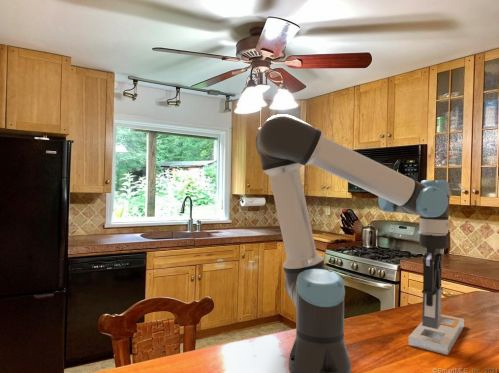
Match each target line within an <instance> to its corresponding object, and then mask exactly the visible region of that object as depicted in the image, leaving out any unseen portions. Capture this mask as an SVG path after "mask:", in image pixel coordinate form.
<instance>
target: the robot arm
mask: <svg viewBox="0 0 499 373" xmlns="http://www.w3.org/2000/svg"><path fill="white" fill-rule="evenodd" d="M255 149H256V152H257V154H258V155H259V159H260V164H261V169H262V172H263V173H265V174H266V175H267V176H269V180H270V185H271V190H272V193H273V195H272V196H273V199H274V204H275V209H276V213H277V218H278V223H279V227H280V231H281V237H282V241H283V247H284V251H285V255H286V259H285V261H284V262H283V264H282V267H283V273H284V277H285V279H284V280H285V281H284V284H285V285H284V286H285V290H286V293H287V295H288V297H289V298H290V299H291V301H292V302H293V305H294V307H295V309H296V311H295V312H296V313H295V314H296V316H295V318H296V319H295V320H296V323H295V325H296V326H295V328H296V331H295V333H296V334H295V339H294V341H293V344H292V347H291V350H290V353H289V356H288V369H289V371H290V372H291V373H352V362H351V359H350V358H351V357H350V355H349V351H348V349H347V346H346V343H345V296H346V289H345V282H344V279H343V278H342V276H340V275H339V274H338V273H336V272H334V271H330V270H329V269H326V265H325V260H324V257H323V256H322V255H321V254H319V253H318V252H317V248H316V245H315V240H314V239H315V238H314V233H313V229H312V223H311V220H310V215H309V210H308V206H307V202H306V201H307V200H306V196H305V190H304V187H303V182H302V177H301V172H300V170H301V168H302V166H304V167H306V166H310V165H311V166H313V167H316V168H318V169H320V170H322V171H324V172H326V173H329V174H331V175H333V176H334V177H337V178H338V179H341V180H343V181H346V182H348V183H349V184H352V185H354V186H356V187H358V188H361V189H363V190H364V191H367V192H369V193H371V194H373V195H376V196H377V197H378V198H377V199H378V200H377V201H378V206H379V208H380V210H381V211H382V212H384V213H392V214H393V213H402V214H407V215H415V216H419V228H418V229H419V232H421V233H420V234H419V236H418V237H419V238H418V239H419V240H418V242H419V243H418V244H419V247H422V248H426V253H424V255H423V258H422V263H423V264H422V265H423V267H422V268H423V269H422V270H423V273H422V274H423V275H422V277H423V278H422V279H423V280H422V290H421V293H422V294H423V293H425V309H424V316H427V317H432V318H435V308H436V294H435V286H437V287H442V273H443V272H442V269H443V257H444V254H443V253H442V252H441V250H446V249H448V248H449V236H448V235H447V234H448V233H449V227H451V226H452V224H451V222H449V220H450V218H449V217H450V198H451V195H450V194H451V193H450V192H451V190H450V183H449V182H448V181H446V180H441V179H440V180H439V179H438V180H437V179H433V180H432V179H424V180H421V181H420V182H419V181H417V180H415V179H412V178H411V177H408V176H406V175H404V174H403V173H401V172H399V171H396V170H394V169H392V168H390V167H389V166H386V165H384V164H381V162H377V161H376V160H374V159H371V158H369V157H368V156H365V155H363V154H361V153H359V152H357V151H356V150H355V151H354V150H352V149H350V148H349V147H346V146H345V145H342V144H340V143H338V142H337V141H334V140H332V139H329V138H328V137H326V136H325V134H324V132H323V130H321V129H319V128H317V127H315V126H312V125H311V124H309V123H307V122H305V121H303V120H301V119H299V118H297V117H295V116H293V115H290V114H283V113H282V114H276V115H272V116H271V117H269V118H268V119H267V120H265V122H263V124H262V126H261V127H260V129H259V130H258V132H257V134H256V136H255ZM443 290H444V289H443V287H442V290H441V292H442V291H443Z"/></svg>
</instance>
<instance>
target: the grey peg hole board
mask: <svg viewBox="0 0 499 373" xmlns="http://www.w3.org/2000/svg"><path fill="white" fill-rule="evenodd" d="M464 328H465V318H461V317H456V316H451V315H446V314H442V313H441V325H440V327H439V328H438V329H435V328H430V327H426V326H422V321H421V322H420V323H419V324H418V325H417V327H416V328H415V329H414V330H413V331H412V332H411V333H410V334H409V335H408V346H411V347H414V348H419V349H421V350H427V351H430V352H434V353H438V354H442V355H445V356H449V354H450V352H451V350H452V348H453V346H454V345H455V344H456V341H457V340H458V338H459V336H460V334H461V333H462V331H463V329H464Z"/></svg>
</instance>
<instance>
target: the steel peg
mask: <svg viewBox="0 0 499 373" xmlns="http://www.w3.org/2000/svg"><path fill="white" fill-rule="evenodd" d="M442 288H443V287H442V286H441V287H437V286H435V294H436V308H435V318H432V317H427V316H424V309H425V293H422V321H421V322H422V326H426V327H430V328H435V329H438V328H439V327H440V325H441V314H442V291H443V290H442ZM441 290H442V291H441Z"/></svg>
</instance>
